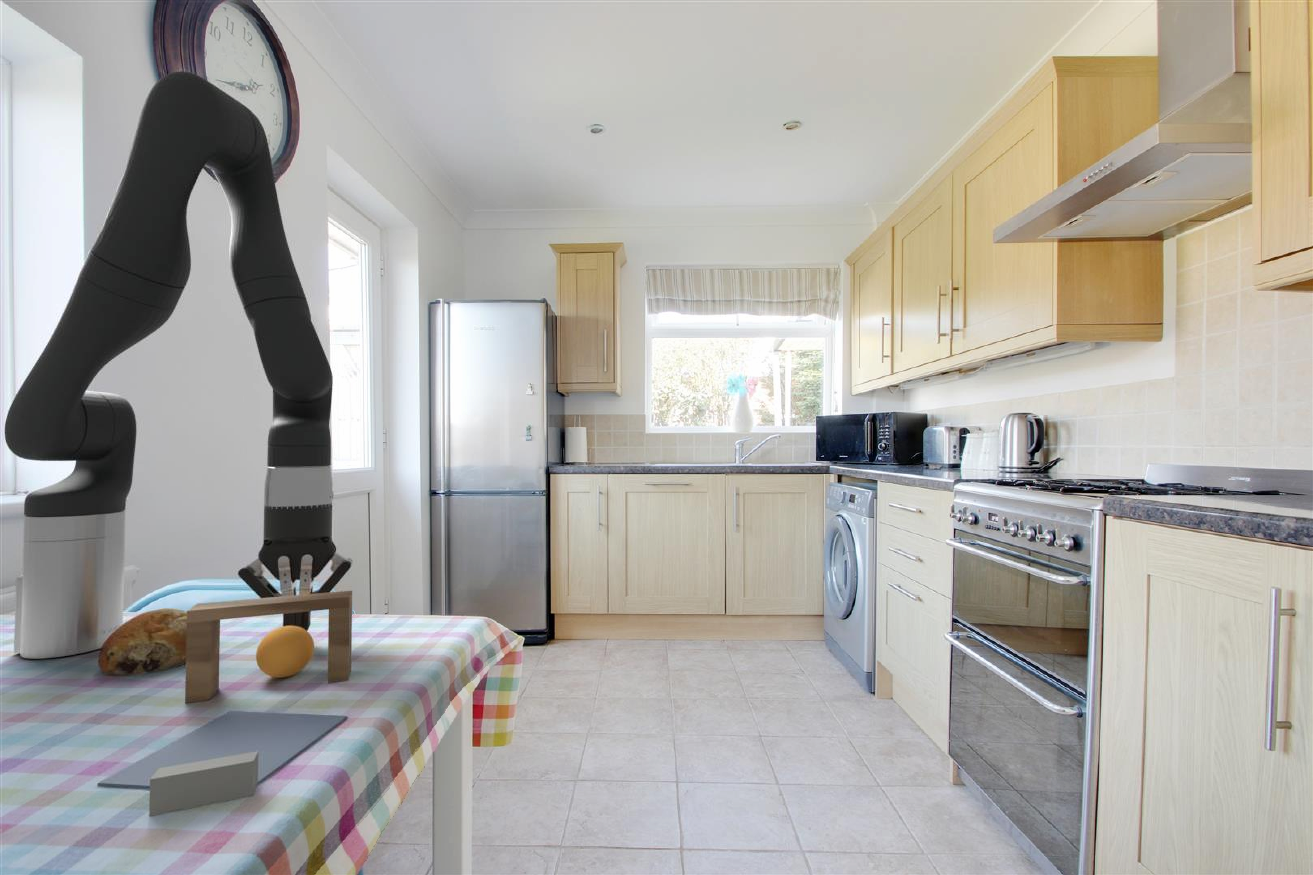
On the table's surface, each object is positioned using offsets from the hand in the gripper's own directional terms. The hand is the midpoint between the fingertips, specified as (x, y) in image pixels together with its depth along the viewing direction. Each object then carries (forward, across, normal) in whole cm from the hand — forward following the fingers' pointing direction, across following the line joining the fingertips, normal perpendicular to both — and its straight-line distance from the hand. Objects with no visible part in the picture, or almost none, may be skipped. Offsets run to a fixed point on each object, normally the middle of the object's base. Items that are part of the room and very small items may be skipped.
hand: (297, 635), depth 73 cm
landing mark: (+2, 0, -27) cm, 27 cm away
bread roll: (+2, -15, +1) cm, 15 cm away
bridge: (+2, 0, -13) cm, 13 cm away
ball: (-1, +1, -10) cm, 10 cm away
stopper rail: (+2, 0, -35) cm, 35 cm away
